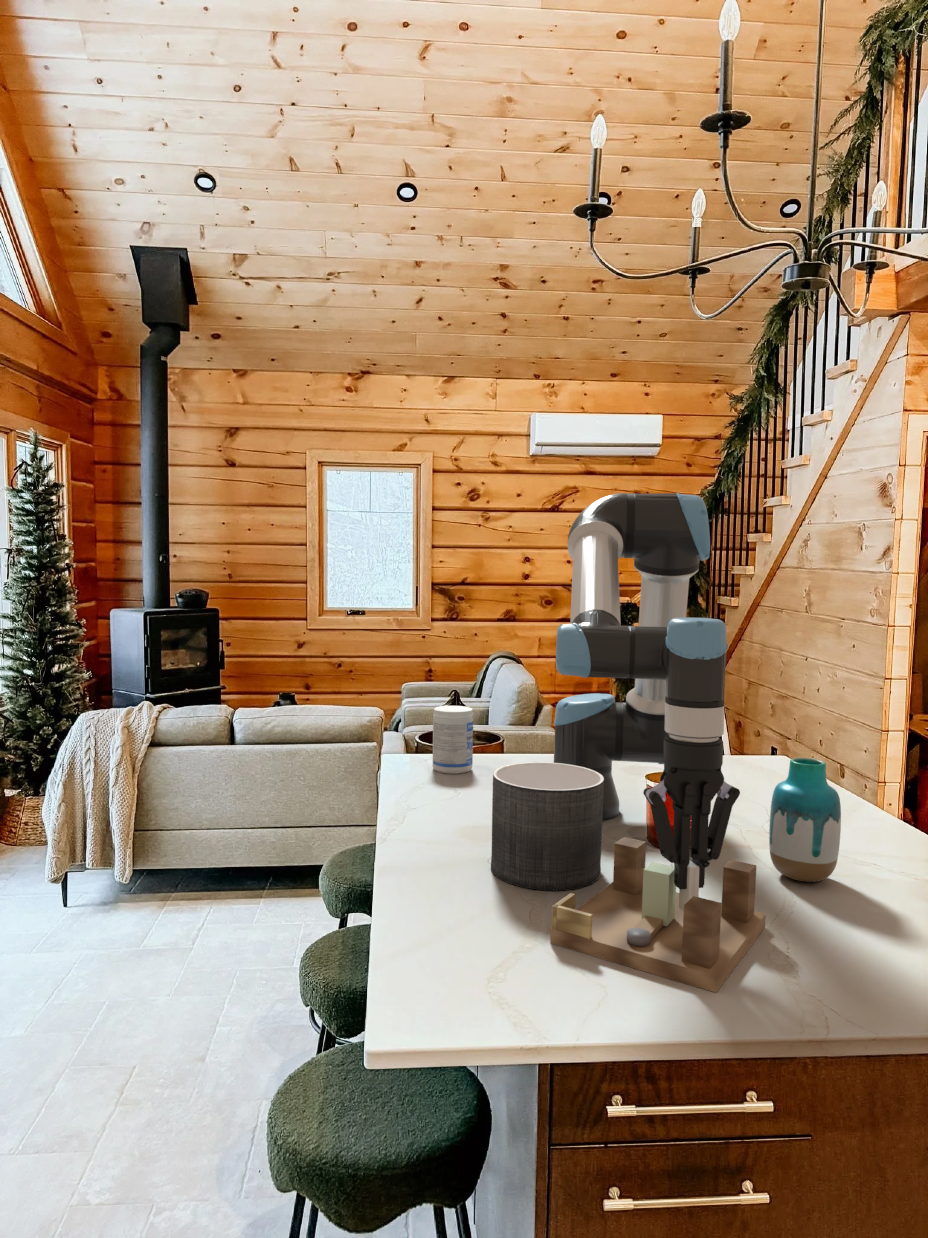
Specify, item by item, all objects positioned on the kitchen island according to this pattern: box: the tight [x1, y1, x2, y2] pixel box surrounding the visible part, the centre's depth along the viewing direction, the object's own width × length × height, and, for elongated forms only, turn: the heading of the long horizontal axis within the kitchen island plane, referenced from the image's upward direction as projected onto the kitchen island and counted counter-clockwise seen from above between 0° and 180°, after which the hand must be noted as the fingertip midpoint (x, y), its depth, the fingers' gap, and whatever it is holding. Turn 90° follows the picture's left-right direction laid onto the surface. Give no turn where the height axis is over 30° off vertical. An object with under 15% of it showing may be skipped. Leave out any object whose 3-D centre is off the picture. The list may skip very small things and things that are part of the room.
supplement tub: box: [432, 705, 474, 775], centre depth 203 cm, size 10×10×15 cm
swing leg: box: [627, 861, 677, 946], centre depth 112 cm, size 4×11×7 cm, turn 149°
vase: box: [768, 757, 842, 883], centre depth 137 cm, size 11×11×19 cm
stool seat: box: [549, 836, 767, 994], centre depth 115 cm, size 22×22×9 cm
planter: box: [490, 761, 604, 891], centre depth 138 cm, size 18×18×16 cm
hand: (688, 911), depth 114 cm, fingers closed
